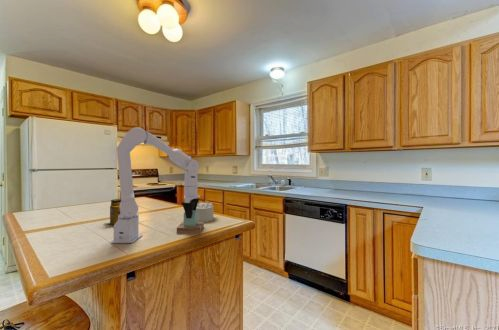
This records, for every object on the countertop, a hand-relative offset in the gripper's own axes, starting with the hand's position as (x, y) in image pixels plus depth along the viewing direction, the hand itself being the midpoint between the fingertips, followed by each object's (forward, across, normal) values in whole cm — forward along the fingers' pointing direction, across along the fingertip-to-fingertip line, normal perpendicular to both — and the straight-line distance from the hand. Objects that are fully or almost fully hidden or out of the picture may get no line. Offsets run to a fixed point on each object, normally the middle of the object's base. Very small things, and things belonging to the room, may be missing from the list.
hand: (190, 216), depth 107 cm
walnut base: (+7, 0, 0) cm, 7 cm away
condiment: (+7, +10, +39) cm, 41 cm away
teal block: (+4, 0, 0) cm, 4 cm away
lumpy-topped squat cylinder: (+7, +20, -2) cm, 21 cm away
